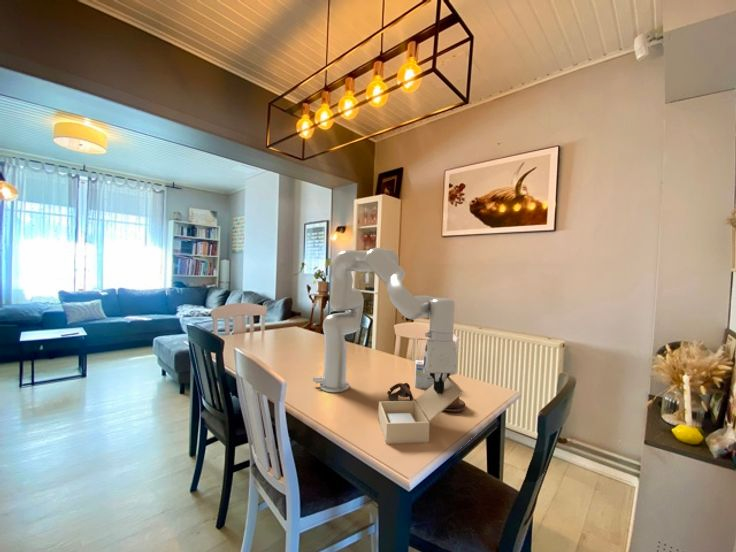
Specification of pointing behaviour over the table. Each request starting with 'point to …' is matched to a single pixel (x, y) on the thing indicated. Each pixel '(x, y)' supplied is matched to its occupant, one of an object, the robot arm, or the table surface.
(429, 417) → the lid
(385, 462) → the table surface
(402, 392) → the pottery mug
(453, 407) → the cup and saucer
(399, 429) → the box
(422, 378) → the light bulb box
